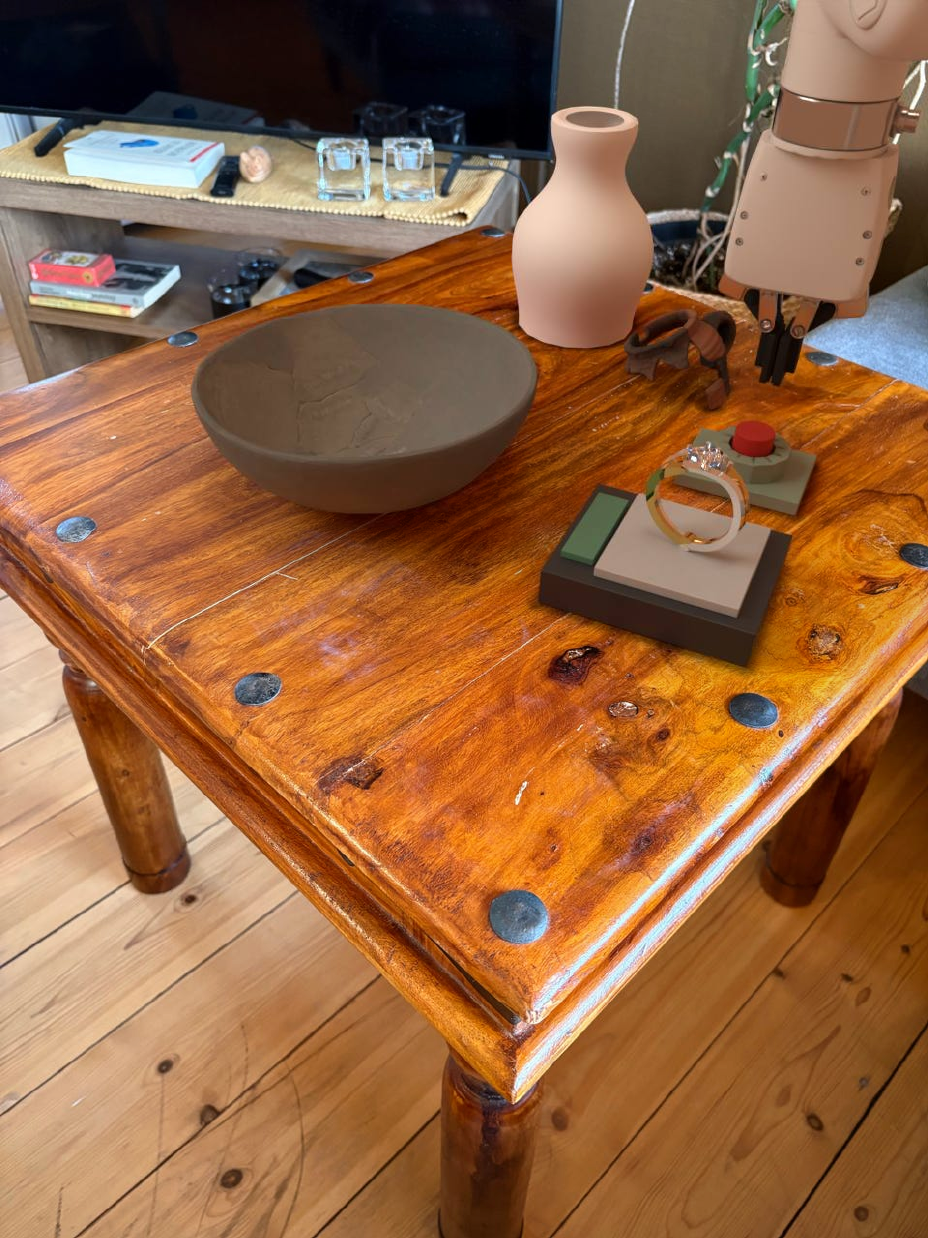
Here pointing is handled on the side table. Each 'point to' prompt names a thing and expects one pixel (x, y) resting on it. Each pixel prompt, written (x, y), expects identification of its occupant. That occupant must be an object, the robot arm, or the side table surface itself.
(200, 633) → the side table surface
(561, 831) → the side table surface
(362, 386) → the bowl
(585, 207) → the vase
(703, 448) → the ring
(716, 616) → the scale
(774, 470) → the grey button housing
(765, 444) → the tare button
